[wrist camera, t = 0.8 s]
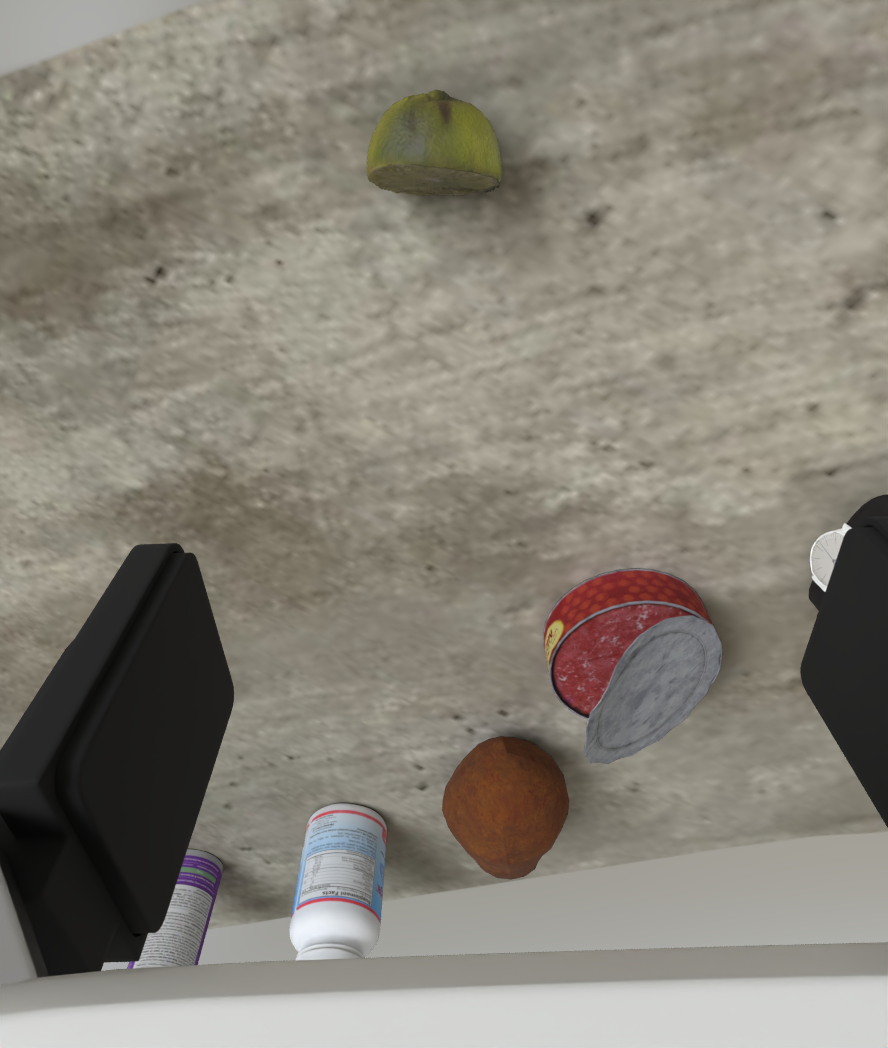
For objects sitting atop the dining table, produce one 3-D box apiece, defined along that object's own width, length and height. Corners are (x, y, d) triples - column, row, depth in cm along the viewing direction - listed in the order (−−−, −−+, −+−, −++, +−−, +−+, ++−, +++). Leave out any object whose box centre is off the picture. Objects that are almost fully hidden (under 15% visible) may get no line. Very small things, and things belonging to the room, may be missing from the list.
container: (200, 887, 58) (133, 1112, 46) (153, 864, 56) (70, 1093, 44) (235, 866, 56) (176, 1095, 44) (188, 841, 54) (112, 1073, 42)
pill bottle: (367, 853, 55) (352, 1014, 46) (296, 832, 54) (265, 995, 44) (401, 813, 52) (392, 976, 43) (326, 790, 51) (300, 954, 41)
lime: (512, 168, 28) (525, 186, 24) (413, 236, 30) (409, 264, 25) (455, 57, 26) (457, 55, 22) (351, 135, 27) (335, 148, 23)
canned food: (591, 524, 43) (677, 551, 34) (701, 611, 46) (811, 660, 36) (484, 670, 43) (541, 740, 33) (601, 750, 46) (685, 837, 36)
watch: (845, 480, 36) (881, 518, 33) (927, 494, 37) (970, 532, 34) (780, 593, 41) (807, 635, 38) (855, 603, 41) (887, 646, 38)
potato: (456, 813, 52) (458, 914, 46) (427, 719, 47) (425, 820, 40) (568, 800, 52) (585, 901, 45) (553, 702, 46) (570, 803, 39)
